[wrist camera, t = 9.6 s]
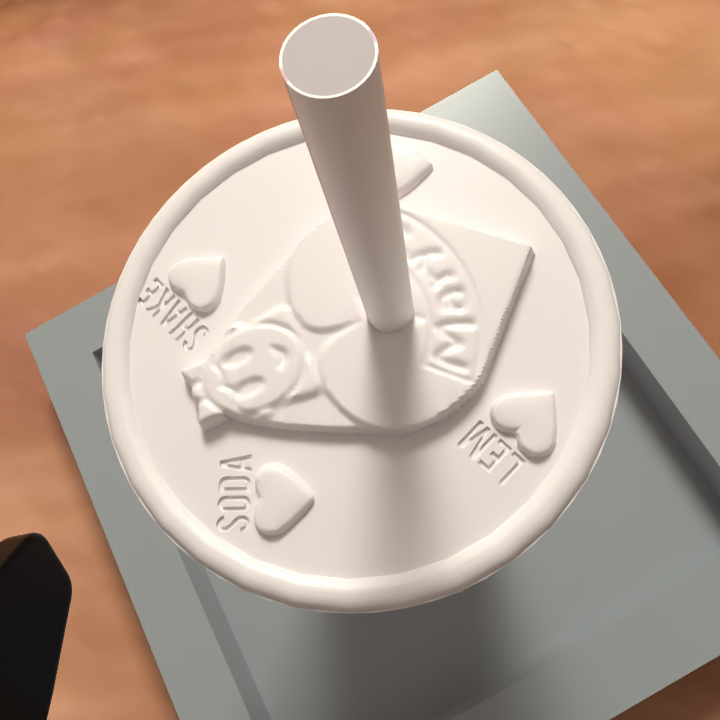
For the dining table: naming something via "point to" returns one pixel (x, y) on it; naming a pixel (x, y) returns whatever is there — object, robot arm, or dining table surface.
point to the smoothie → (360, 349)
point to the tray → (486, 598)
